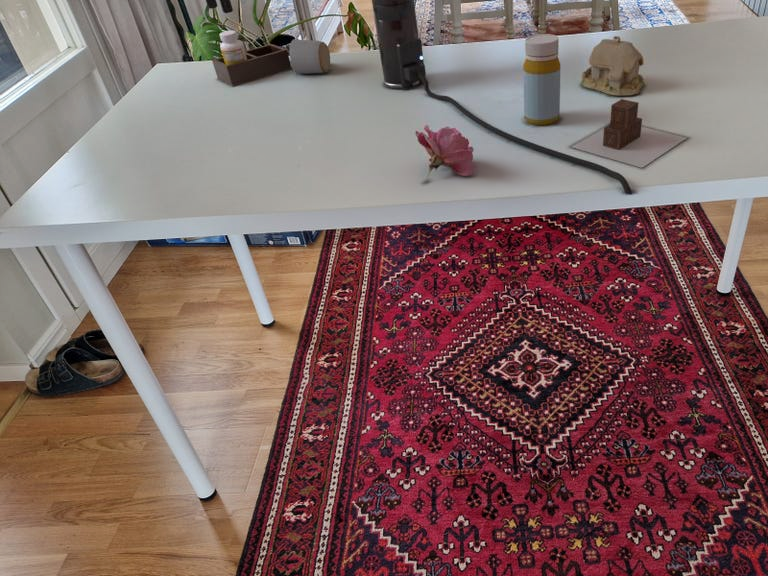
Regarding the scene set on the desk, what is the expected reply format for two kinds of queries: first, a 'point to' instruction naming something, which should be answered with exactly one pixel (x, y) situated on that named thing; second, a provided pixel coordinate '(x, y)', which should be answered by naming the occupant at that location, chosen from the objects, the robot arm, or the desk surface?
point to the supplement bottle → (232, 48)
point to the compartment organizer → (253, 65)
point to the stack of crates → (628, 138)
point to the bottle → (541, 79)
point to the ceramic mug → (309, 56)
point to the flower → (447, 149)
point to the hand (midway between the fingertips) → (220, 10)
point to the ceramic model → (614, 68)
